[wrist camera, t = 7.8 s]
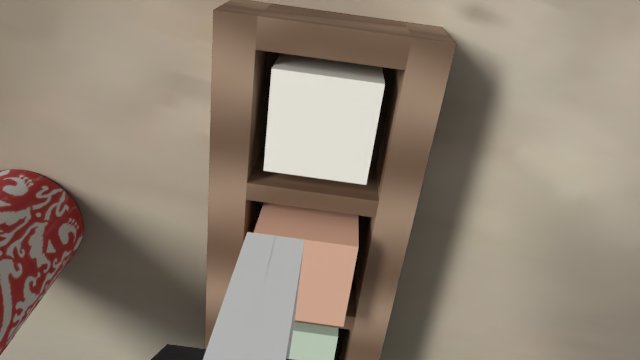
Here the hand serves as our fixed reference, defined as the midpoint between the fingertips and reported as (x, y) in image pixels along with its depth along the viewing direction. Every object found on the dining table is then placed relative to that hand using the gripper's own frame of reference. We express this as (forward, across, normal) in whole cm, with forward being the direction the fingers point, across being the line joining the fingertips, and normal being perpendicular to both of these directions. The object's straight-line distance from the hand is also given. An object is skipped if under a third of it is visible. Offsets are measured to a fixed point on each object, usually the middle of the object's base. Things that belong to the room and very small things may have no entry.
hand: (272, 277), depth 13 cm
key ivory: (+16, +1, -1) cm, 16 cm away
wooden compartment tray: (+17, +1, -9) cm, 19 cm away
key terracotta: (+14, +1, -9) cm, 17 cm away
